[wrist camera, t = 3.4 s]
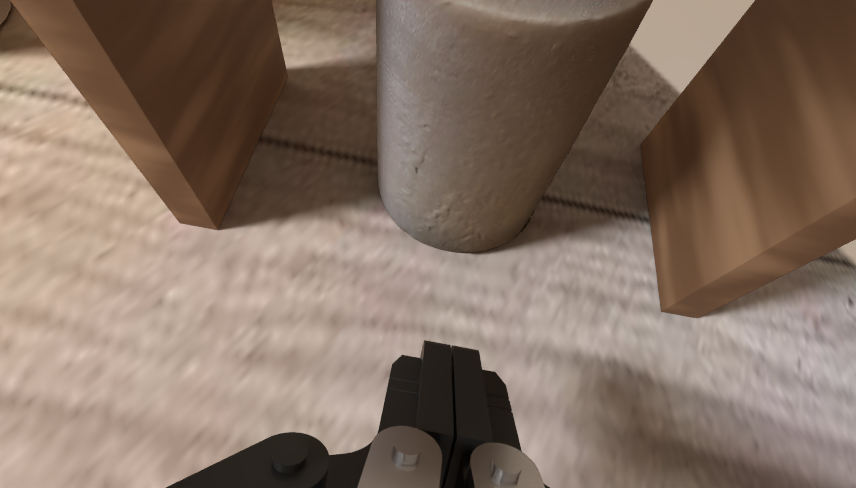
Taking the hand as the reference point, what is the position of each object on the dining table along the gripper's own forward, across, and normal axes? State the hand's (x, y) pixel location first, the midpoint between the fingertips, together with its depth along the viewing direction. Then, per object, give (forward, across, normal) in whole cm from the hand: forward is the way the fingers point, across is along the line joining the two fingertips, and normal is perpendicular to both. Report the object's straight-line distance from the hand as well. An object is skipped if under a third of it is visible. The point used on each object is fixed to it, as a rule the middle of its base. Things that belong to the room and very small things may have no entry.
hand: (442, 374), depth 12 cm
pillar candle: (+16, 0, -3) cm, 16 cm away
